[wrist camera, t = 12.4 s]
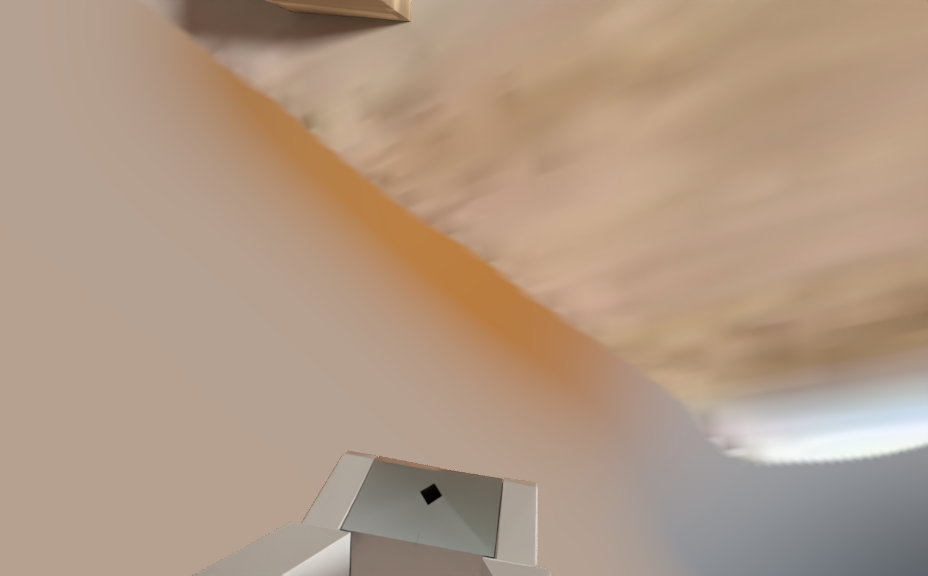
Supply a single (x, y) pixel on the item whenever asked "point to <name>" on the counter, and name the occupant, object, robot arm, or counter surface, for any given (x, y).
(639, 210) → the counter surface
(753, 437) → the counter surface
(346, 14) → the box
